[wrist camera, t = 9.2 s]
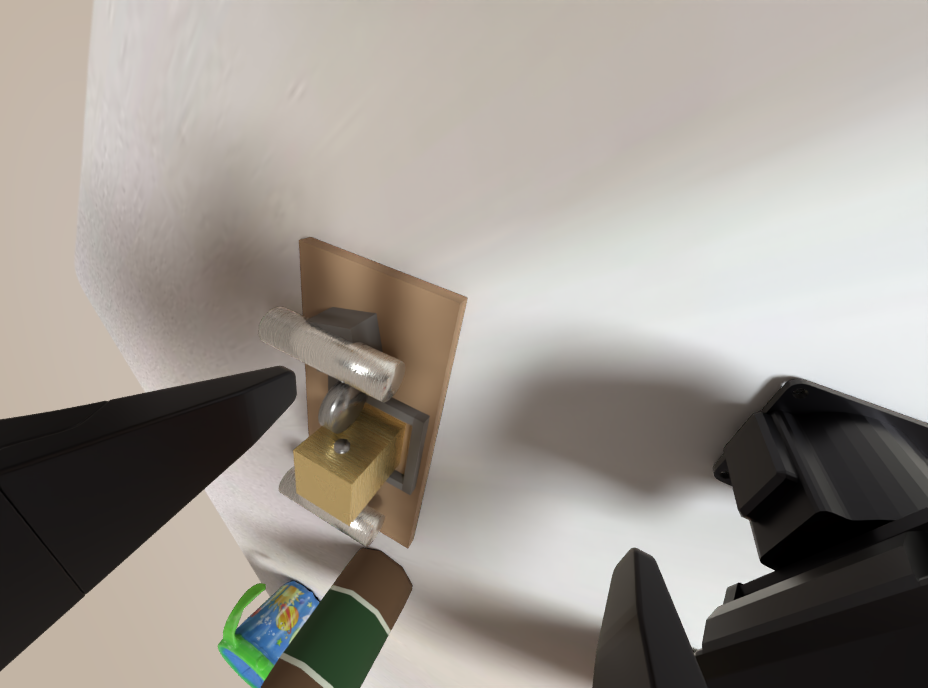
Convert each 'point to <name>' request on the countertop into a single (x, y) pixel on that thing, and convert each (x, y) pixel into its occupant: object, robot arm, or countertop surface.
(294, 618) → the snack cup
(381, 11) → the countertop surface
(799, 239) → the countertop surface
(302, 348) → the shafts
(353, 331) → the padlock latch board
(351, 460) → the block
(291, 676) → the beer bottle
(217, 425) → the robot arm
